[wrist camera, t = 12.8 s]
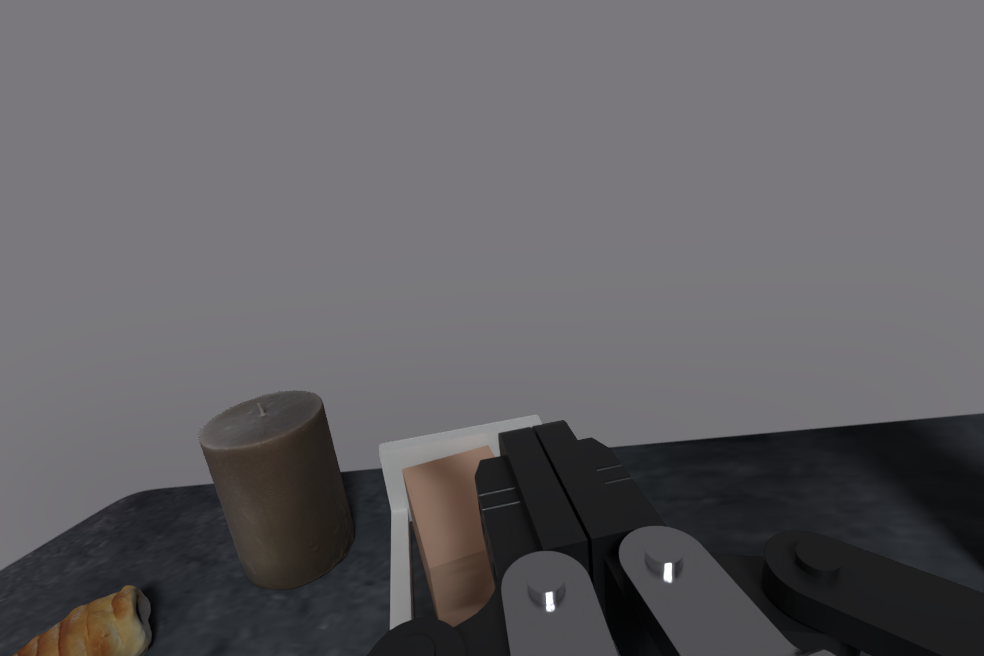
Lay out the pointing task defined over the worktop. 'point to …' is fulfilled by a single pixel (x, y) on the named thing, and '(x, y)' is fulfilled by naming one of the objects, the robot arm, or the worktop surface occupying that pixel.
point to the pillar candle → (280, 487)
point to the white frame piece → (392, 463)
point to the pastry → (99, 629)
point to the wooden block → (451, 533)
